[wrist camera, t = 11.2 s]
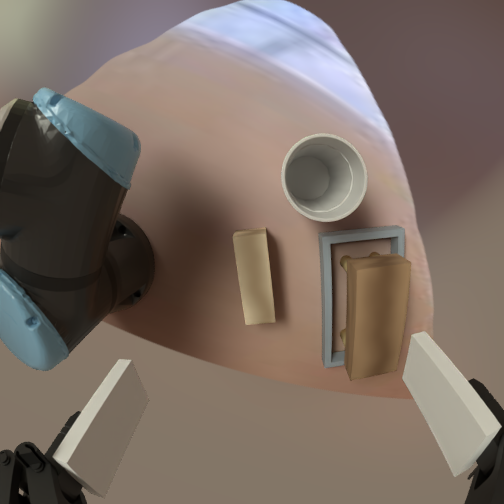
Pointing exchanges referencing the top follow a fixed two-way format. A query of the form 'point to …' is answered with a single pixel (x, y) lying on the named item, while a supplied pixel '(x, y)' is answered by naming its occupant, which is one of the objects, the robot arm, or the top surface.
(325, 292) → the frame
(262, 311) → the block
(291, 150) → the cup
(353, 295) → the board
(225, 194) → the top surface
